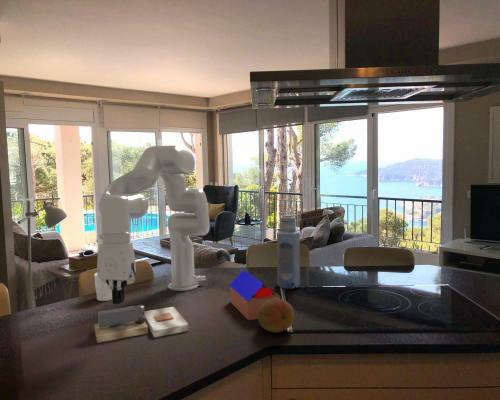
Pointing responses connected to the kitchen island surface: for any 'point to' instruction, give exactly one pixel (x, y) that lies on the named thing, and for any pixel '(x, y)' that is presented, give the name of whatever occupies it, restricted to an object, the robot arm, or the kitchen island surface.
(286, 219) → the bottle
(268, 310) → the fruit
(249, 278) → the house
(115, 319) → the bar
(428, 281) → the kitchen island surface
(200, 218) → the robot arm
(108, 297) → the white cup
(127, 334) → the door and jamb
